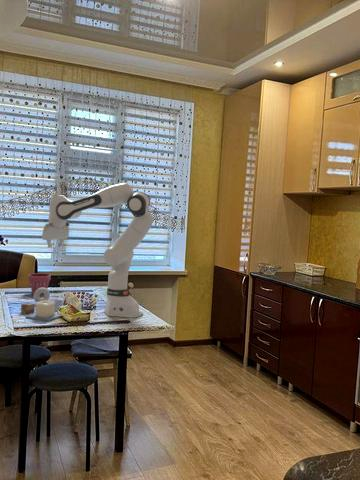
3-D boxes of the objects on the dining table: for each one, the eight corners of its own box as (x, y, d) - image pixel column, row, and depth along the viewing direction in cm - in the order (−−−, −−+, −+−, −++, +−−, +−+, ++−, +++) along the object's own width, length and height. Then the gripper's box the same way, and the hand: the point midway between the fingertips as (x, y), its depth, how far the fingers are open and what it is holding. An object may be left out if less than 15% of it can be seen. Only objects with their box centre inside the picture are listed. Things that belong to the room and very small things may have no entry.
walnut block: (34, 312, 249) (34, 303, 249) (28, 314, 244) (28, 305, 244) (27, 311, 251) (27, 302, 250) (21, 312, 246) (21, 304, 246)
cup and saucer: (63, 316, 244) (64, 301, 243) (47, 321, 231) (48, 306, 230) (42, 312, 249) (43, 298, 248) (25, 318, 236) (26, 303, 235)
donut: (48, 302, 274) (49, 286, 273) (50, 303, 271) (51, 287, 270) (32, 303, 268) (32, 287, 267) (34, 305, 265) (34, 288, 264)
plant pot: (24, 294, 292) (24, 275, 291) (33, 290, 306) (34, 272, 305) (44, 296, 290) (45, 277, 289) (53, 292, 304) (54, 273, 303)
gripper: (49, 223, 245) (48, 248, 246) (71, 223, 264) (70, 246, 265) (40, 222, 247) (38, 247, 248) (62, 222, 266) (61, 245, 268)
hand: (55, 247), depth 257 cm, fingers open, 8 cm apart
